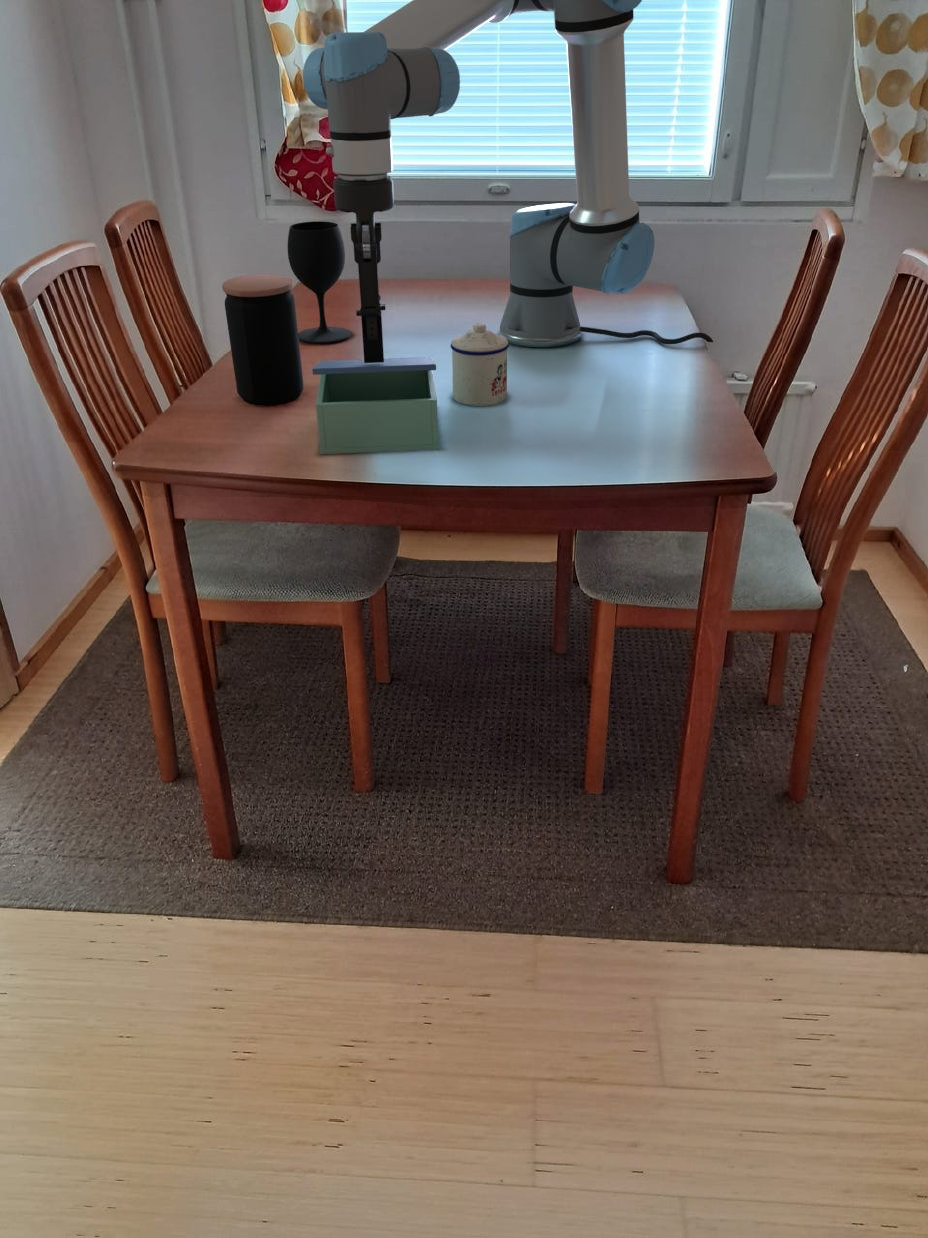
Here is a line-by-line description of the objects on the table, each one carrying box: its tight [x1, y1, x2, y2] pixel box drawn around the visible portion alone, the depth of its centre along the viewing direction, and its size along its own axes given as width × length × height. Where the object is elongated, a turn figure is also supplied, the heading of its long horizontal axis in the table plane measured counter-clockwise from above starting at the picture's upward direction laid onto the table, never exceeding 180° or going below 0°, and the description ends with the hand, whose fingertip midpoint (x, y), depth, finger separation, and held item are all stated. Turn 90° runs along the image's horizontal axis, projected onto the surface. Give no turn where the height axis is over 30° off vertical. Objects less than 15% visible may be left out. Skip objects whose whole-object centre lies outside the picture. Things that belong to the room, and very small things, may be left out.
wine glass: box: [287, 220, 352, 345], centre depth 178 cm, size 10×10×20 cm
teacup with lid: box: [450, 322, 510, 407], centre depth 152 cm, size 12×9×12 cm
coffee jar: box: [221, 273, 305, 407], centre depth 151 cm, size 11×11×18 cm
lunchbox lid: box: [311, 356, 437, 376], centre depth 137 cm, size 17×17×1 cm
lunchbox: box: [315, 370, 439, 455], centre depth 141 cm, size 17×17×7 cm
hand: (374, 360), depth 133 cm, fingers closed
